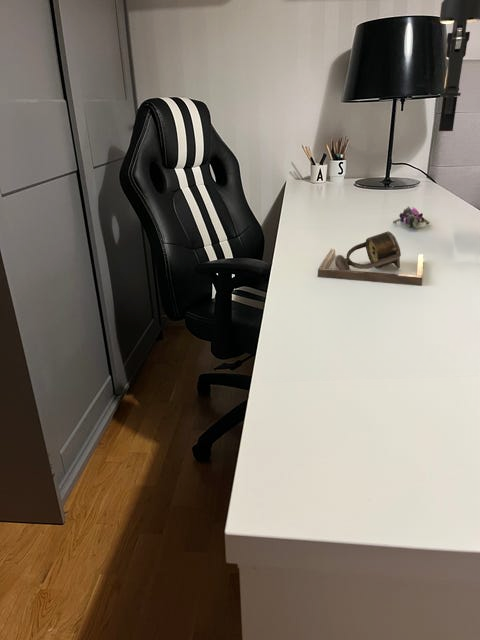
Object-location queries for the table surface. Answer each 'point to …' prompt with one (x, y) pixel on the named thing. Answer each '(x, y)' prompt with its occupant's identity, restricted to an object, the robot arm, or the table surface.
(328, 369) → the table surface
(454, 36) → the robot arm
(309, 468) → the table surface
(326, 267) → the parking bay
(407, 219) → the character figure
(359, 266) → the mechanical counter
